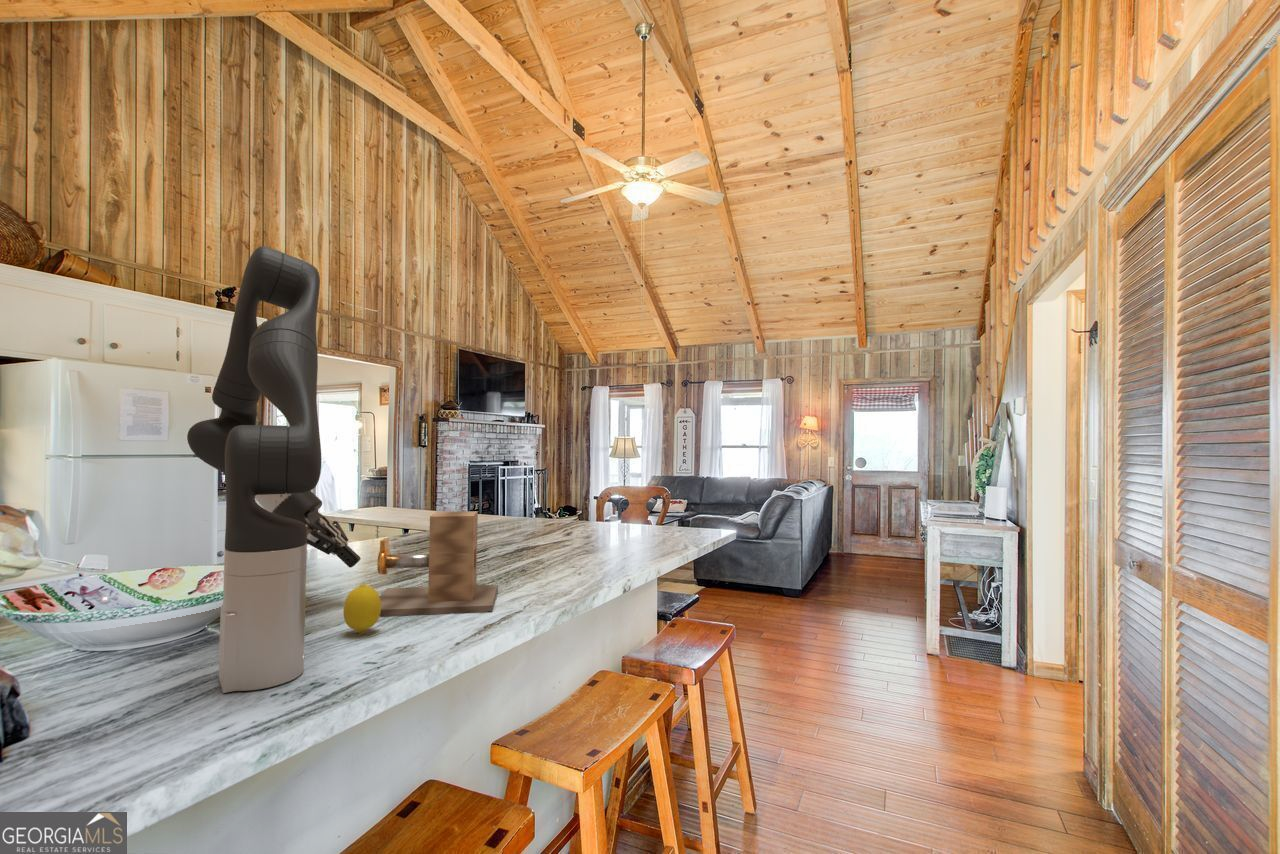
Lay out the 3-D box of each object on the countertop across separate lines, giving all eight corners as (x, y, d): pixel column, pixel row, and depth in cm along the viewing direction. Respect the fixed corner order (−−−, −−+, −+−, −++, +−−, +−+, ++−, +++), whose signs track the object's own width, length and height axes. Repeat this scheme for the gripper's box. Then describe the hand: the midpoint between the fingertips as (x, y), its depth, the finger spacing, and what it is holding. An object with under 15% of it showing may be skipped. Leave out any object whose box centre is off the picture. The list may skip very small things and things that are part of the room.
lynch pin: (377, 577, 109) (377, 541, 110) (383, 571, 114) (384, 537, 114) (446, 575, 112) (447, 540, 112) (450, 569, 116) (450, 536, 116)
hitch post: (365, 617, 104) (367, 520, 104) (387, 594, 119) (389, 510, 120) (492, 611, 107) (493, 518, 108) (497, 590, 123) (499, 508, 124)
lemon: (370, 639, 92) (371, 588, 92) (335, 638, 92) (337, 587, 92) (386, 628, 98) (387, 580, 98) (353, 627, 98) (354, 579, 98)
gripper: (289, 488, 103) (361, 555, 105) (316, 482, 116) (380, 543, 118) (255, 518, 102) (328, 586, 104) (286, 509, 115) (351, 570, 117)
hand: (356, 563), depth 111 cm, fingers closed
